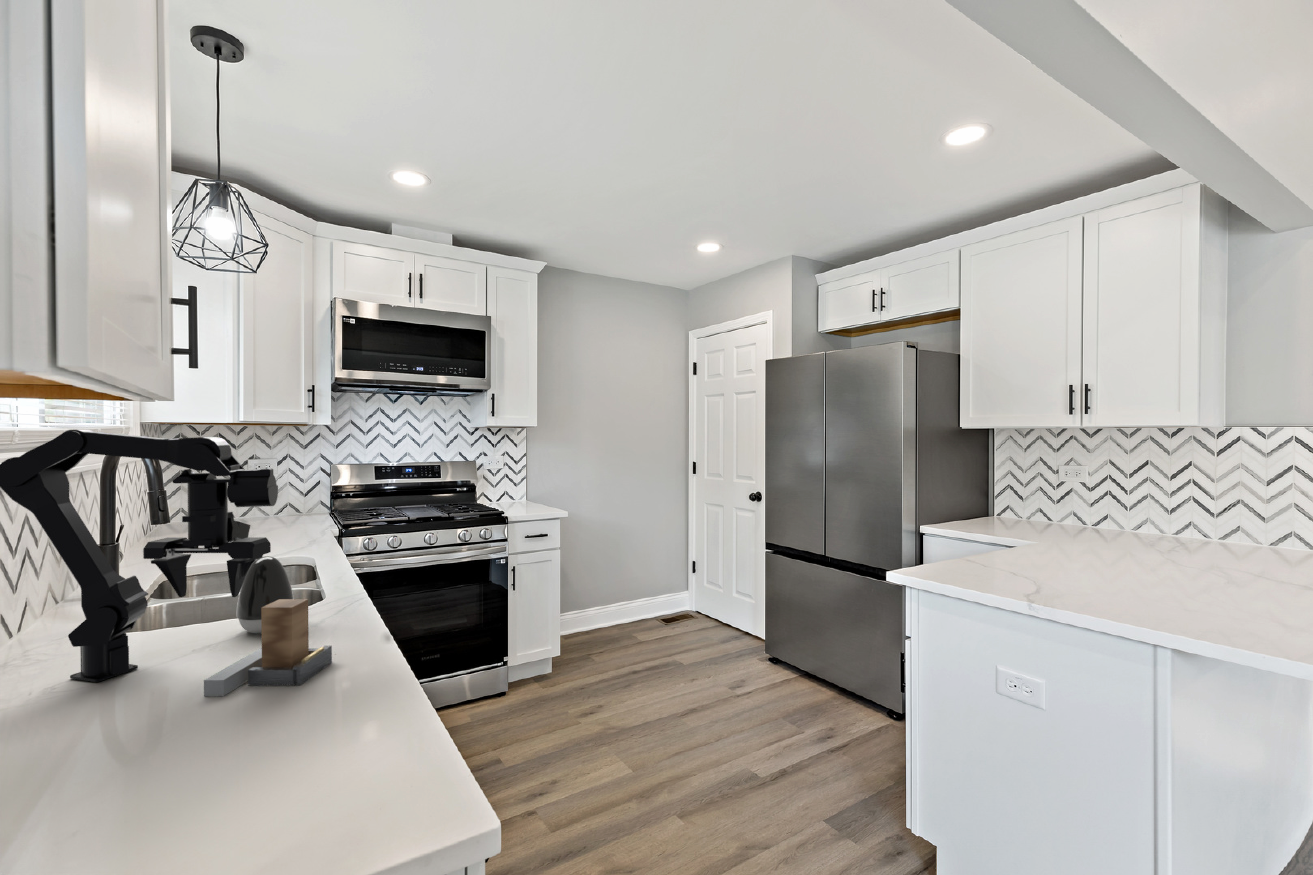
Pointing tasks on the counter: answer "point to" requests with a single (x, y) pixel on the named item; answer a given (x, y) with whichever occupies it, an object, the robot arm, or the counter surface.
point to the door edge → (232, 675)
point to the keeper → (292, 669)
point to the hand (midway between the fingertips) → (208, 596)
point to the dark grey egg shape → (261, 591)
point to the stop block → (284, 632)
